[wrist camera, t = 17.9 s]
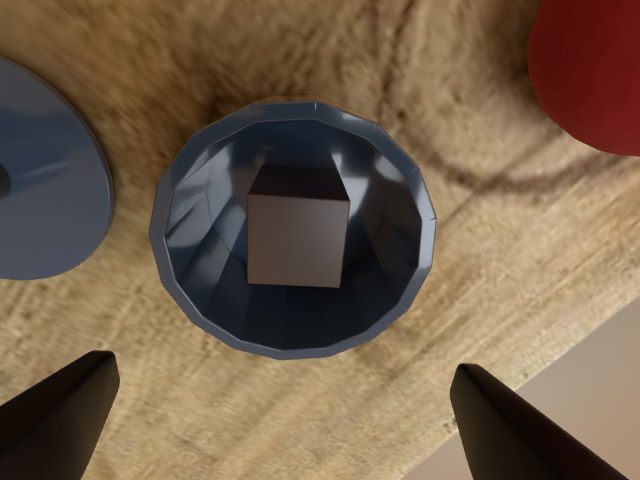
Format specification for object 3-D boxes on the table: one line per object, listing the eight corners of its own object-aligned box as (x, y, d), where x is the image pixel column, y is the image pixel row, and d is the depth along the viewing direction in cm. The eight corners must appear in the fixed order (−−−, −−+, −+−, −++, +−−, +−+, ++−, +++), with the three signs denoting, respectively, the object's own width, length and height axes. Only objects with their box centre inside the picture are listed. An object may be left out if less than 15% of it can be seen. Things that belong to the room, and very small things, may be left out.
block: (260, 235, 20) (247, 284, 15) (261, 164, 18) (246, 193, 13) (331, 239, 20) (340, 288, 15) (338, 169, 18) (351, 200, 13)
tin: (260, 309, 22) (244, 390, 16) (157, 154, 18) (86, 188, 12) (420, 241, 21) (467, 304, 15) (349, 54, 16) (375, 38, 11)
